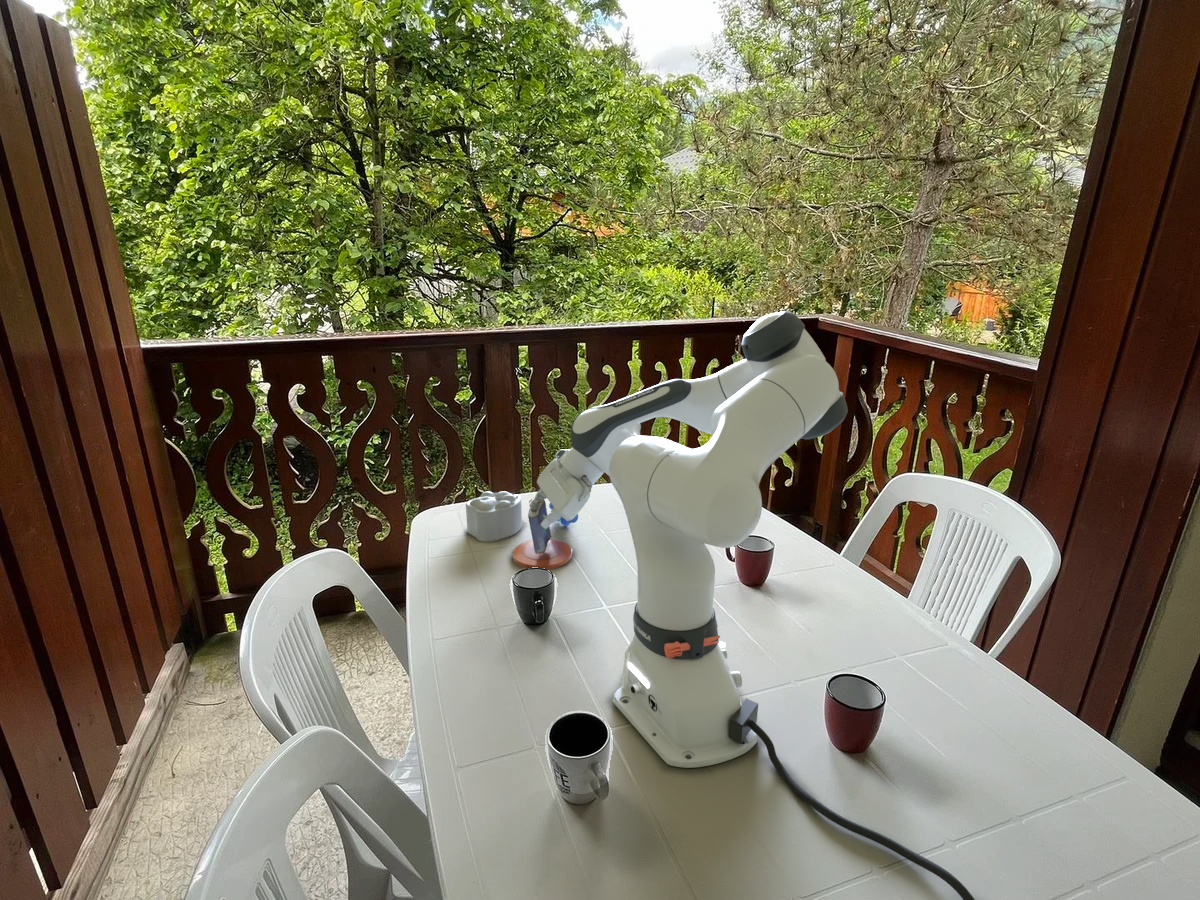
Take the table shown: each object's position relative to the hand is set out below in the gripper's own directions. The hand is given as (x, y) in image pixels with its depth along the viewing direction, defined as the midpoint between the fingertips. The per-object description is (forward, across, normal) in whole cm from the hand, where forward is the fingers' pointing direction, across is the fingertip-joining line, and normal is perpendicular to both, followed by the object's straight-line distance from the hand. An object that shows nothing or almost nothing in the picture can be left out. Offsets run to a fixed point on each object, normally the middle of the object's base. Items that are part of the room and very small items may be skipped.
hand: (536, 517), depth 137 cm
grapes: (-1, +14, -14) cm, 20 cm away
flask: (+4, 0, -6) cm, 7 cm away
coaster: (+6, 0, -7) cm, 9 cm away
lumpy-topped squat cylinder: (+11, +17, -2) cm, 20 cm away
